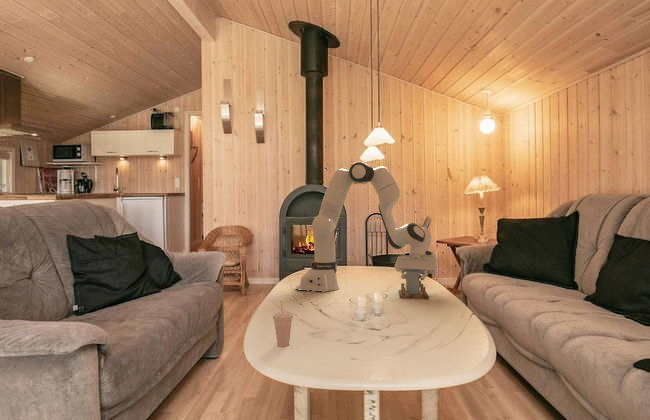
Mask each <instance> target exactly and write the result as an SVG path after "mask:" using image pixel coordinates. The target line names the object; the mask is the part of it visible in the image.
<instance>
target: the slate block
mask: <svg viewBox="0 0 650 420" xmlns="http://www.w3.org/2000/svg"><path fill="white" fill-rule="evenodd" d="M405 274H406V279H405V290H406V293H408V294H418V293H419V292H420V286H419V281H420V278H419V274H420V273H419V272H418V271H408V272H405Z"/></svg>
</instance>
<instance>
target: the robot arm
mask: <svg viewBox="0 0 650 420" xmlns="http://www.w3.org/2000/svg"><path fill="white" fill-rule="evenodd" d="M368 183H370V184H371V185H372V187H373V188H374V190H375V193H376V195H377V197H378V210H379V211H378V212H379V214H380V215H379V216H380V218H381V220H382V223H383V226H384V229H385V233H386V236H387V237H386V238H387V242H388V243H389V245H390V246H391V247H392V248H394V249H396V250H400V249H402V248H404V247H406V246H408V245H411V246H410V250H409V253H408V255H407V254H406V255H404V254H400V255H398V256H397V258H396V261H395V262H394V263H395V264H394V268H395V271H396V272H400V273H401V276H400V277H401V279H404V280H406V279H405V274H406V272H408V271H418V272H419V274H420V275H421V274H422V275H421V277H420V278H419V280H420V281H425V279H426V277H427V276H428V275H429V274H430V275H435V274H436V273H437V268H438V266H437V265H438V264H437V256H436V254H435V252H434V251H430V250H429V249H430V247H431V243H432V233H431V231H430V230H429V229H428V227H423V226H422V227H421V226H419V224H417V223H415V222H409V223H406V224H404V225H402V226H400V227H397V225H396V223H395V219H394V217H393V208H394V206H395V205H396V204H397V202H398V201H399V198H400V196H401V192H400V188H399V185H398V184H397V182H396V180H395V178H394V176H393V175H392V173H391V172H390V171H389V169H388V168H387V167H386V166H378V167H375V168H374V167H372V166H370V164H368V163H367V162H364V161H356V162H354V163H352V164H351V166H350V167H349V169H345V168H340V169H336V170H335V171H334V172H333V174H332V177H331V178H330V181H329V182H328V185H327V187H326V191H325V193H324V195H323V198H322V201H321V205H320V209H319V213H318V215H316V216H315V218H314V219H313V221H312V223H311V227H312V237H313V246H314V247H313V248H314V249H313V250H314V252H313V253H314V260H313V261H311V262H310V269H309V270H308V271H306V272H305V273H304V274H303V275H302V276H301V277H300V280H299V281H300V282H299V284H298V285H297V286H296V287H295V289H296V288H297V289H301V290H312V291H311V292H315V291H322V292H321V293H326V292H331V291H336V290H339V288H340V286H339V281H338V276H337V271H338V268H337V267H338V265H337V261H336V260H337V259H336V256H337V255H336V241H335V240H336V239H335V230H336V227H337V226H338V222H339V219H340V216H341V212H342V209H343V207H344V204H345V201H346V199H347V196H348V194H349V191H350V188H351V186H352V185H353V184H355V185H358V184H359V185H365V184H368ZM325 291H326V292H325Z"/></svg>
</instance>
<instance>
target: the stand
mask: <svg viewBox="0 0 650 420" xmlns="http://www.w3.org/2000/svg"><path fill="white" fill-rule="evenodd" d="M400 287H401V288H400V289H398V296H399V299H422V300H423V299H424V300H427V299H429V297H430V296H429V295H428V292H427V290H426V287H424V283H422V282H421V284H420V292H419V293H418V294H408V293H406V286H405V283H404V282H401V284H400Z"/></svg>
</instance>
